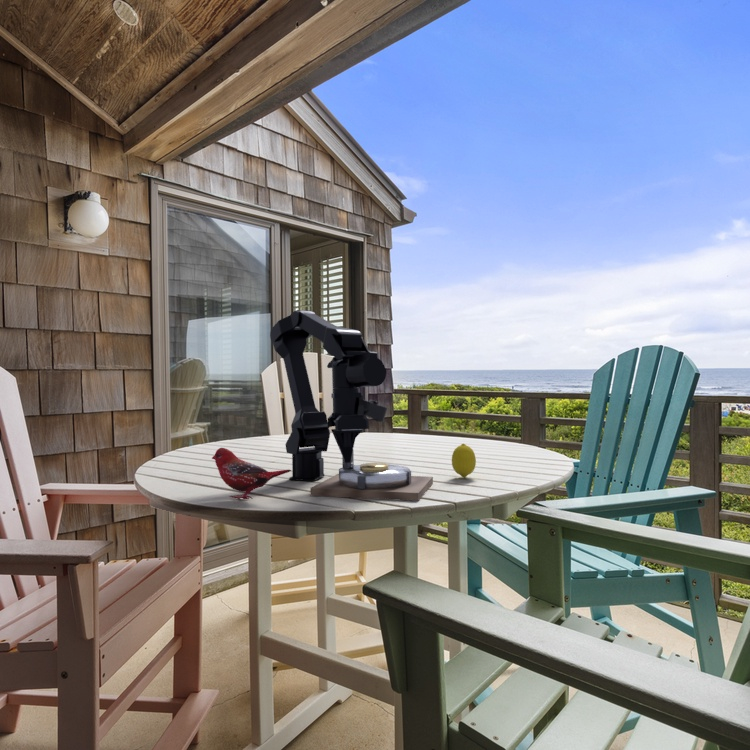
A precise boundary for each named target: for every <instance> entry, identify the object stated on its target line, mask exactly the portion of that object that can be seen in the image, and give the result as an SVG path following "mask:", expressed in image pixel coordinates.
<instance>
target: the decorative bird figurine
mask: <svg viewBox="0 0 750 750" xmlns="http://www.w3.org/2000/svg"><path fill="white" fill-rule="evenodd" d="M211 460H214V461H215V462H214V463H215V465H216V467H217V470H218V473H219V476H220V478H221V480H222V481H223V482H224V483H225V484H226V485H227V486H229V488H231V489H233V490H235V491H238V492H242V494H241V495H235V496H234V495H229V498H230V497H231V498H234V499H236V498H243V499H242V500H250V499H254V498H252V497H251V496H250V495H249V494H250V493H251V492H252V491H254V490H255V489H258V488H262V487H264V486H265V485H266V484H267V483H268V482H269V481H270V480H272V479H273V478H274V479H275V478H276V477H278V476H279V477H280V476H282V475H284V474H287V473H290V472H292V469H283V470H274V471H268V470H266V469H265V468H263V467H261V466H259V465H256V464H255V463H251V462H248V461H245V460H244V459H241V458H239V457H238V456H237V455H236V454H234V452H232V450H229V449H227V448H225V447H219V448H218V449H217V450H216V451H215V453H214V455H213V456H212V457H211ZM243 492H244V493H243Z"/></svg>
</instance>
